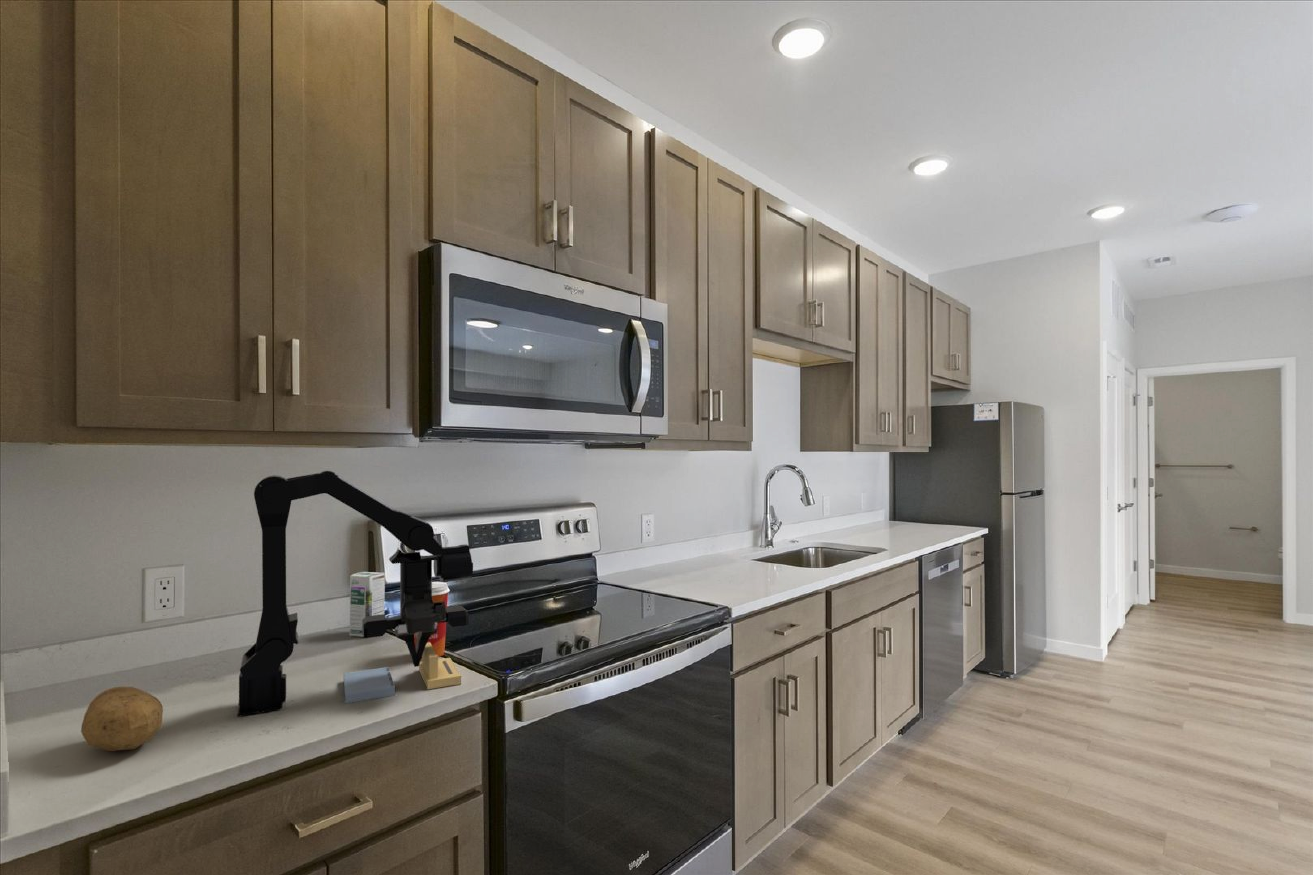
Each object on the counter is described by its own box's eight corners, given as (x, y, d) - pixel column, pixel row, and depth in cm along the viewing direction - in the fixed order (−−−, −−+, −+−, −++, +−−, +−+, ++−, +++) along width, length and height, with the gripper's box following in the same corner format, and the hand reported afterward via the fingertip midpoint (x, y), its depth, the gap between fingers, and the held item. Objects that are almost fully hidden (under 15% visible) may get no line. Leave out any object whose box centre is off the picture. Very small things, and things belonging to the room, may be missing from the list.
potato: (91, 774, 89) (91, 716, 89) (71, 745, 98) (72, 691, 98) (177, 749, 97) (177, 695, 97) (151, 723, 106) (152, 674, 106)
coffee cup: (400, 657, 139) (400, 586, 139) (430, 646, 146) (430, 579, 146) (429, 663, 135) (429, 590, 135) (458, 652, 142) (458, 583, 142)
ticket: (345, 703, 114) (345, 693, 114) (343, 681, 124) (343, 672, 124) (394, 695, 117) (394, 685, 117) (388, 674, 128) (388, 666, 128)
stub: (427, 689, 120) (427, 659, 120) (419, 669, 131) (419, 642, 131) (461, 683, 123) (461, 654, 123) (450, 664, 133) (450, 638, 134)
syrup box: (348, 636, 154) (348, 574, 155) (365, 629, 160) (365, 570, 160) (368, 638, 153) (368, 576, 153) (385, 631, 159) (385, 571, 159)
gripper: (365, 598, 114) (365, 688, 113) (474, 587, 122) (474, 670, 122) (362, 586, 124) (362, 669, 123) (462, 576, 132) (463, 654, 132)
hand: (416, 665), depth 125 cm, fingers closed
